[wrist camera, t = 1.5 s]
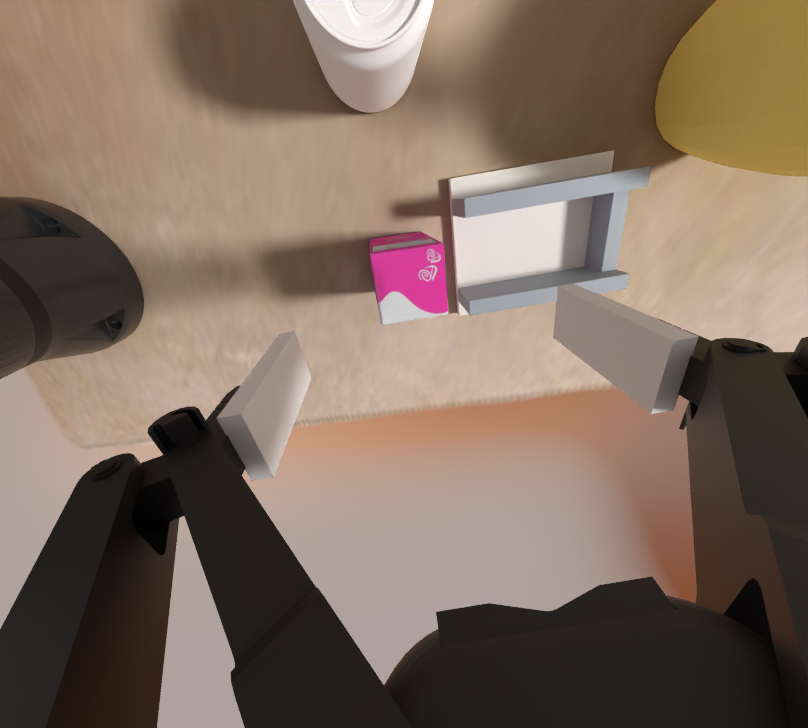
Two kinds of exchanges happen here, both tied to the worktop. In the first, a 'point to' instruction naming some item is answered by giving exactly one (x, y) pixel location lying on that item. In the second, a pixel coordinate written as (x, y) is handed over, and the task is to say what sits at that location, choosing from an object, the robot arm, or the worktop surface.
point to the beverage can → (366, 46)
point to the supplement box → (408, 277)
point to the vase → (740, 87)
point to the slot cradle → (539, 231)
